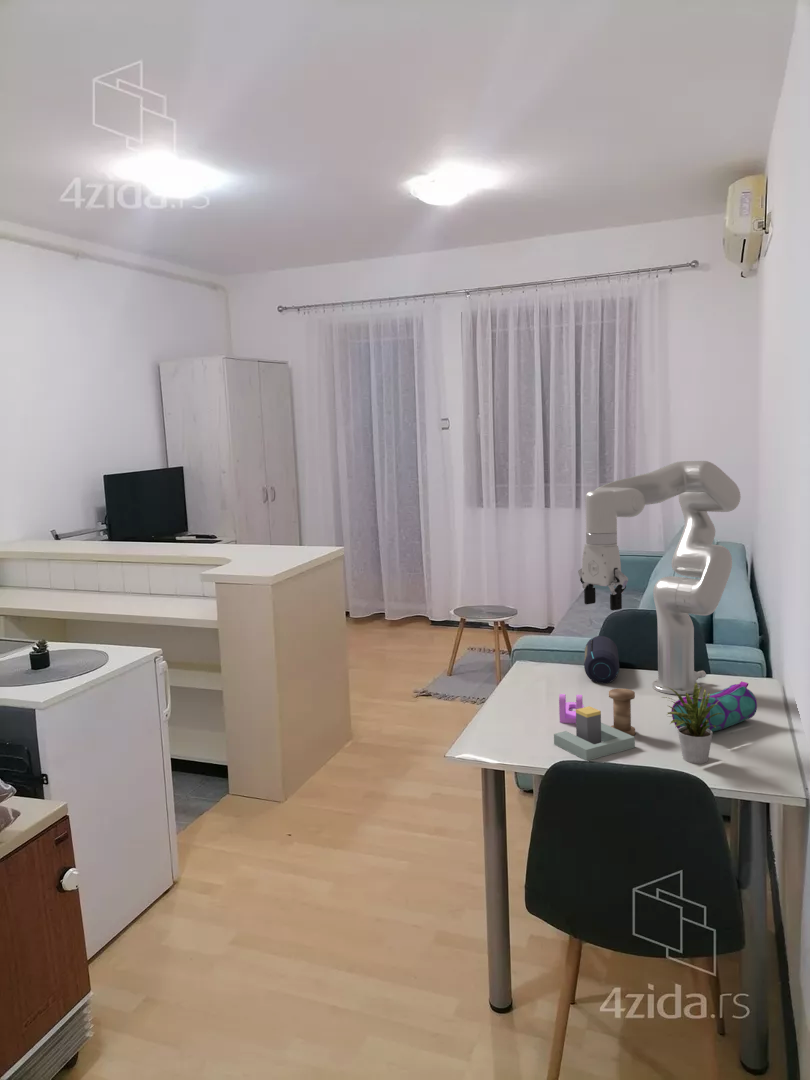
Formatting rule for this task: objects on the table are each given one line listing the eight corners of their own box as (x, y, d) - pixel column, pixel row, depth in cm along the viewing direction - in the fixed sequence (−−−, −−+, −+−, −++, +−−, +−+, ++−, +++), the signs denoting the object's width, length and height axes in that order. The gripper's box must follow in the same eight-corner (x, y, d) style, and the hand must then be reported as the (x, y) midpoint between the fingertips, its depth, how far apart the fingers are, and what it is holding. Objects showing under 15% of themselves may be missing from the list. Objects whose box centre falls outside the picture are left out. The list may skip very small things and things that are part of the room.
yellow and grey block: (576, 742, 179) (575, 709, 178) (590, 739, 180) (589, 706, 180) (587, 748, 175) (587, 714, 174) (601, 744, 177) (600, 711, 176)
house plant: (658, 742, 176) (657, 673, 175) (722, 746, 172) (722, 676, 171) (659, 767, 163) (659, 692, 161) (729, 772, 159) (729, 695, 157)
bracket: (582, 724, 190) (581, 697, 190) (559, 723, 192) (558, 696, 191) (584, 707, 203) (583, 682, 202) (562, 706, 204) (562, 681, 204)
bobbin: (623, 726, 187) (622, 687, 186) (640, 734, 182) (640, 693, 181) (604, 731, 185) (603, 691, 184) (621, 739, 179) (620, 697, 178)
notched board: (600, 732, 184) (600, 722, 184) (634, 747, 174) (634, 736, 174) (554, 744, 178) (553, 733, 178) (586, 760, 168) (586, 749, 168)
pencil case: (700, 742, 175) (700, 702, 174) (670, 731, 183) (670, 692, 182) (759, 724, 185) (759, 685, 184) (728, 714, 193) (728, 677, 192)
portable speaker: (585, 663, 244) (584, 632, 243) (617, 663, 242) (617, 633, 241) (584, 686, 220) (583, 653, 219) (620, 687, 218) (619, 653, 217)
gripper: (567, 538, 197) (569, 603, 199) (613, 543, 182) (614, 614, 184) (590, 535, 201) (591, 599, 202) (637, 540, 185) (638, 610, 187)
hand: (602, 606), depth 193 cm, fingers open, 9 cm apart
